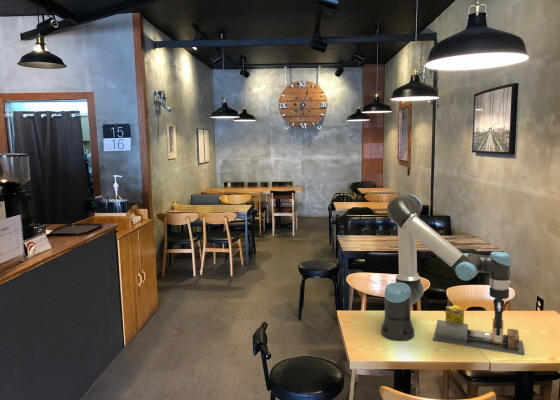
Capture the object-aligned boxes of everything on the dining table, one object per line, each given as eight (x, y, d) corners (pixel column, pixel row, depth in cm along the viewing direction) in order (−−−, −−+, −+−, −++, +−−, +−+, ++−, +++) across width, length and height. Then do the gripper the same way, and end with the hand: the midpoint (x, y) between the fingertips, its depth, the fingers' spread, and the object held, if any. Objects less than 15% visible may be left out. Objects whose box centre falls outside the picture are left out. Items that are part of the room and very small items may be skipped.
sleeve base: (433, 340, 191) (433, 326, 190) (435, 330, 201) (436, 317, 201) (524, 355, 175) (525, 340, 174) (522, 343, 186) (522, 329, 185)
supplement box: (453, 333, 198) (453, 310, 197) (445, 328, 204) (445, 306, 202) (463, 331, 200) (464, 309, 198) (455, 326, 205) (455, 304, 204)
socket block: (508, 347, 179) (508, 335, 179) (507, 340, 186) (507, 328, 186) (518, 349, 178) (519, 337, 177) (517, 341, 185) (517, 329, 184)
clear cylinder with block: (462, 338, 189) (462, 318, 188) (462, 334, 192) (463, 314, 191) (513, 346, 180) (514, 324, 179) (512, 342, 184) (513, 321, 183)
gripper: (510, 295, 172) (508, 349, 175) (508, 283, 188) (506, 333, 190) (489, 292, 176) (488, 346, 178) (489, 281, 191) (487, 330, 194)
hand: (497, 339), depth 184 cm, fingers closed on clear cylinder with block, 4 cm apart
